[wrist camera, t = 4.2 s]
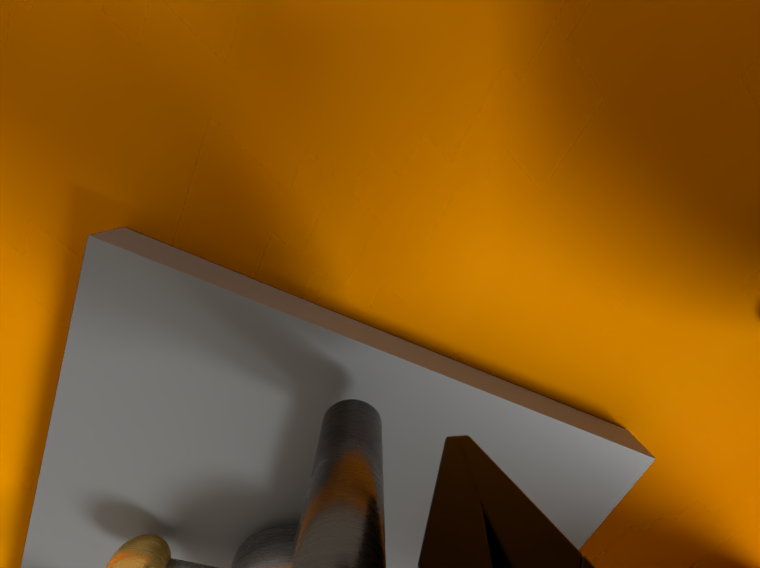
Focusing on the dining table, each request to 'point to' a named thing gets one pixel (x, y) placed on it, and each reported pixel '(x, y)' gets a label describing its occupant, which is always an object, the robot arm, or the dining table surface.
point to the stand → (271, 417)
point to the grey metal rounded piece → (311, 508)
